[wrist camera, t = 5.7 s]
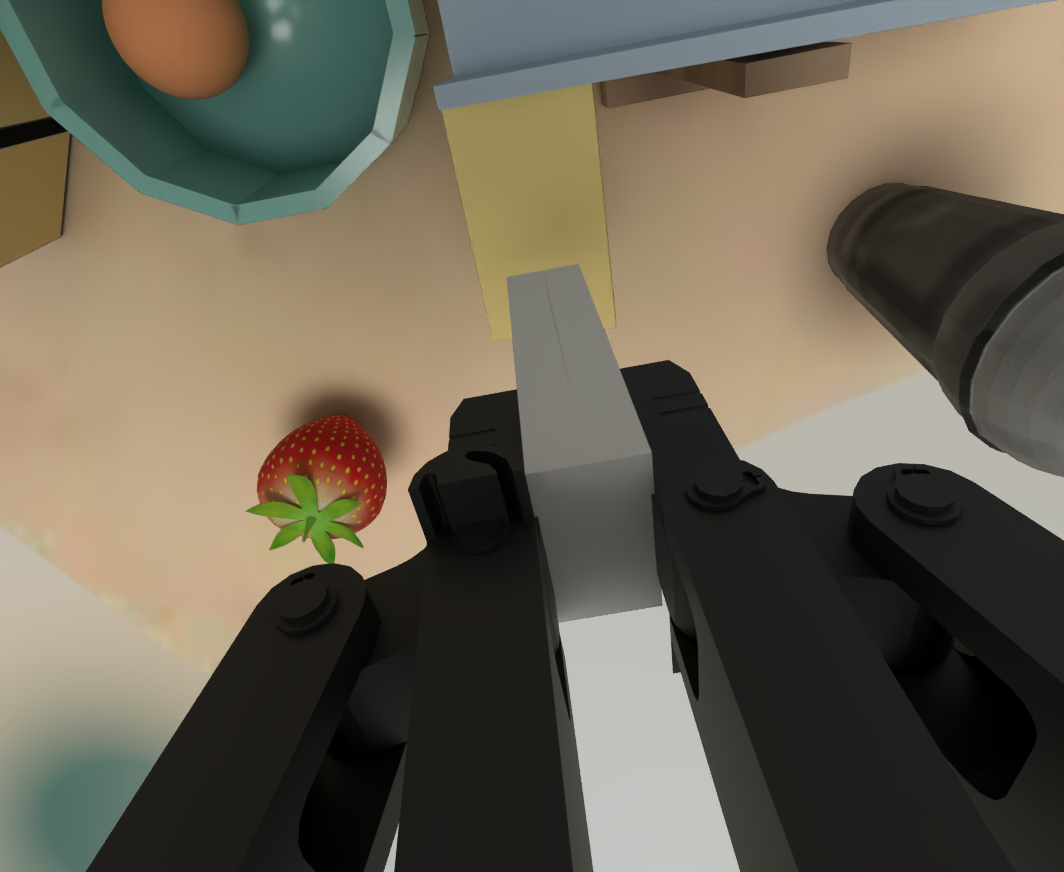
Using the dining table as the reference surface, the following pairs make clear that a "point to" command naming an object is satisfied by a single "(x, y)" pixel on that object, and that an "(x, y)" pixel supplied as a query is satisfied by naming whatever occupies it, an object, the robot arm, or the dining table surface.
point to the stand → (737, 75)
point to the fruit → (322, 484)
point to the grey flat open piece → (569, 107)
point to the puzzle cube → (28, 164)
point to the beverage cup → (968, 305)
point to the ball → (180, 43)
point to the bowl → (235, 102)
